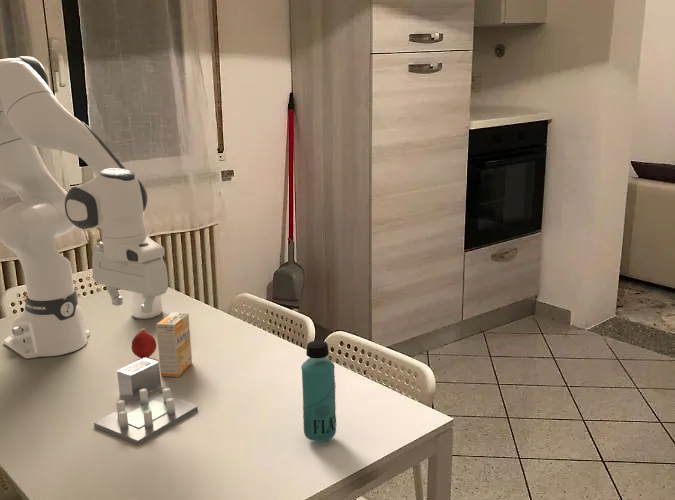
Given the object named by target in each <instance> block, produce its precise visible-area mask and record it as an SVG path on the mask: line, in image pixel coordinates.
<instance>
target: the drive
mask: <svg viewBox="0 0 675 500" xmlns="http://www.w3.org/2000/svg"><path fill="white" fill-rule="evenodd" d="M116 372H117V381H118V390H119V396H121V397H123V398H127V399H129V400H132V401H136V400H138V399H140V393H139V390H141V389H147V393H148V394H149V393H151V392H153V391H154V390H156V389H158V388H160V387H161V386H162V381H161V372H160V361H157V360H154V359H151V358H143V359H142V358H140V360H136V361H135V362H132V363H131V364H128V365H127V366H124V367H122V368H120V369H118V370H116Z"/></svg>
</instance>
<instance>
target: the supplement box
mask: <svg viewBox="0 0 675 500" xmlns="http://www.w3.org/2000/svg"><path fill="white" fill-rule="evenodd" d="M189 316H190V314H189V313H188V312H179V311H177V312H175V311H171V312H169V313H168V314H167V315H165V317H163V318H162V319H161V320H159V321H158V322H157V323H156V324H155V326H156V334H157V335H156V338H157V346H158V347H157V348H158V349H157V350H158V357H159V358H158V359H159V361H158V362H159V368H160V377H169V378H170V377H172V378H173V377H174V378H179V377H180V376H181V375H182V374H183V373H184V371H185V370H186V369H187V368H188V367H189V366H190V365H192V363H193V360H192V359H193V357H192V355H193V354H192V343H191V329H190V318H189Z"/></svg>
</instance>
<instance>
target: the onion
mask: <svg viewBox="0 0 675 500" xmlns="http://www.w3.org/2000/svg"><path fill="white" fill-rule="evenodd" d="M156 349H157V341H156V338H155V337H154V336H153V335H152V334H150V333H149V332H147V331H146V329H145V328H141V330H140V331H139V332H138V333H137V334H136V335H134V337H133V339H132V341H131V351H132V353H133V354H134V355H135V356H136V357H138V358H140V359H143V358H148V359H150V357H151V356H152V355H153V354H154V353H155V352H156Z"/></svg>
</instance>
